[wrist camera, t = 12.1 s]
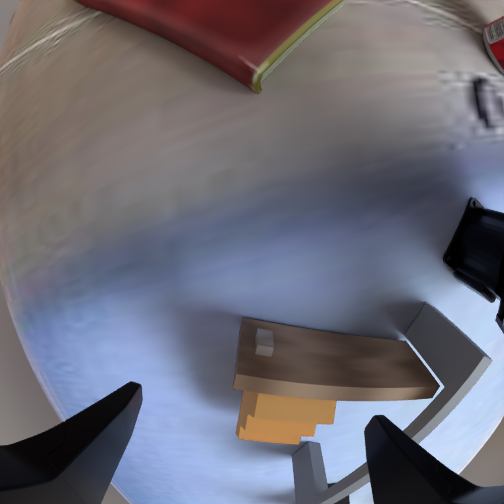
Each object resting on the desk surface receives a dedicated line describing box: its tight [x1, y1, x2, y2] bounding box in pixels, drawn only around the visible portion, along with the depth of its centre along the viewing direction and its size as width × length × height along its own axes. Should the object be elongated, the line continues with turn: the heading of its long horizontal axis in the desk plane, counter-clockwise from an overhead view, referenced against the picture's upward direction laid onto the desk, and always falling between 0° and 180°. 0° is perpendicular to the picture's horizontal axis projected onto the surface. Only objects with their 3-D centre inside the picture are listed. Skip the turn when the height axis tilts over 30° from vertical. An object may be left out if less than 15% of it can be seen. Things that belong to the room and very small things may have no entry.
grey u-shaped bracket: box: [292, 302, 493, 504], centre depth 19 cm, size 23×2×9 cm, turn 153°
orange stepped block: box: [236, 391, 337, 445], centre depth 18 cm, size 9×5×4 cm
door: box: [233, 317, 440, 401], centre depth 18 cm, size 15×2×7 cm, turn 78°
